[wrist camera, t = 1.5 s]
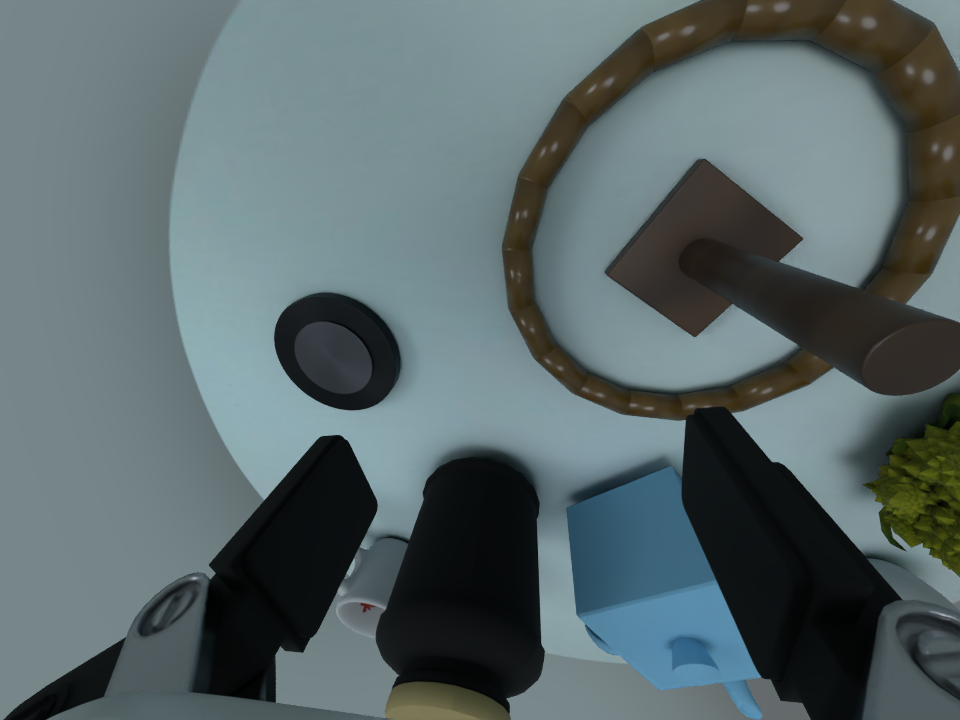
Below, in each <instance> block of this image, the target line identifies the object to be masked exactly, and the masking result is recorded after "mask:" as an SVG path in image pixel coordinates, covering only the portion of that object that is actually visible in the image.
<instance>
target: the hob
mask: <svg viewBox="0 0 960 720" xmlns="http://www.w3.org/2000/svg"><path fill="white" fill-rule="evenodd" d="M274 342H275V349H276V353H277V356H278V359H279V361H280V363H281V365H282V367H283V369H284V370H285V372H286V374H287V375H288V376H289V378H290V379H291V380H292V381H293V382H294V383H295V384H296V386H298V387H299V388H300V389H301V390H302V391H303V392H304V393H306V394H307V395H308V396H310V397H312V398H313V399H315V400H317V401H319V402H321V403H323V404H325V405H328V406H330V407H334V408H337V409H343V410H361V409H366V408H369V407H372V406H374V405H376V404H378V403H379V402H381V401H382V400H383V399H384V398H385V397H386V396H387V395H388V394H389V392H390V391H391V389H392V388H393V387H394V385H395V383H396V381H397V379H398V376H399V372H400V355H399V350H398V346H397V343H396V341H395V339H394V337H393V335H392V333H391V331H390V330H389V328H388V327H387V326H386V324H385V323H384V322H383V321H382V320H381V318H380V317H379V316H378V315H377V314H375V313H374V312H373V311H372V310H371V309H369V308H368V307H366V306H365V305H363V304H362V303H360V302H358V301H356V300H354V299H351V298H349V297H346V296H343V295H339V294H333V293H318V294H313V295H309V296H306V297H304V298H302V299H300V300H298V301H296V302H294V303H292V304H291V305H290V306H288V307H287V308H286V309H285V310H284V311H283V312H282V314H281V315H280V317H279V319H278V321H277V324H276V327H275V333H274Z"/></svg>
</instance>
